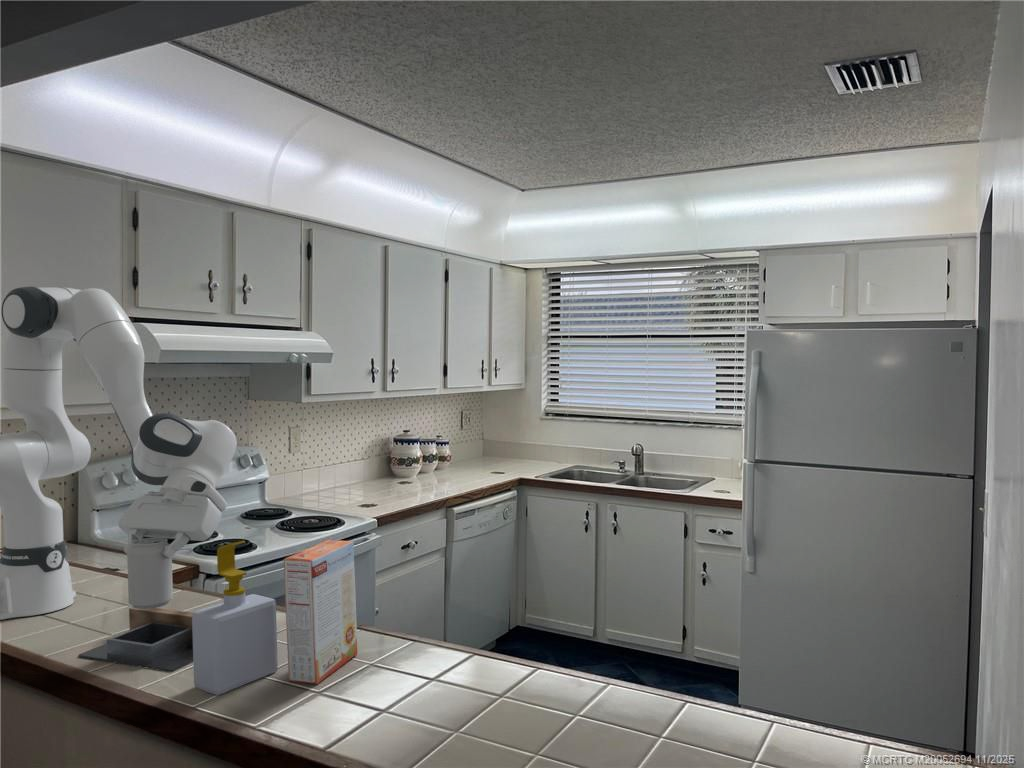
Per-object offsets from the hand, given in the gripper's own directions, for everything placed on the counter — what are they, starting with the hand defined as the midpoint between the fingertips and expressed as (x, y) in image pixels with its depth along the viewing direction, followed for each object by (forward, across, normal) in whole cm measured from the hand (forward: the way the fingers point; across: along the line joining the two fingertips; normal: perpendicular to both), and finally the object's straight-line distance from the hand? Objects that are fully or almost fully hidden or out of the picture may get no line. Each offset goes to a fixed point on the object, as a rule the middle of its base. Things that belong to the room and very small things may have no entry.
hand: (147, 555), depth 145 cm
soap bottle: (+16, +24, +10) cm, 31 cm away
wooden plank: (+7, 0, +18) cm, 20 cm away
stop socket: (+12, 0, +13) cm, 18 cm away
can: (+6, 0, +7) cm, 9 cm away
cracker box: (+10, +35, +16) cm, 40 cm away
